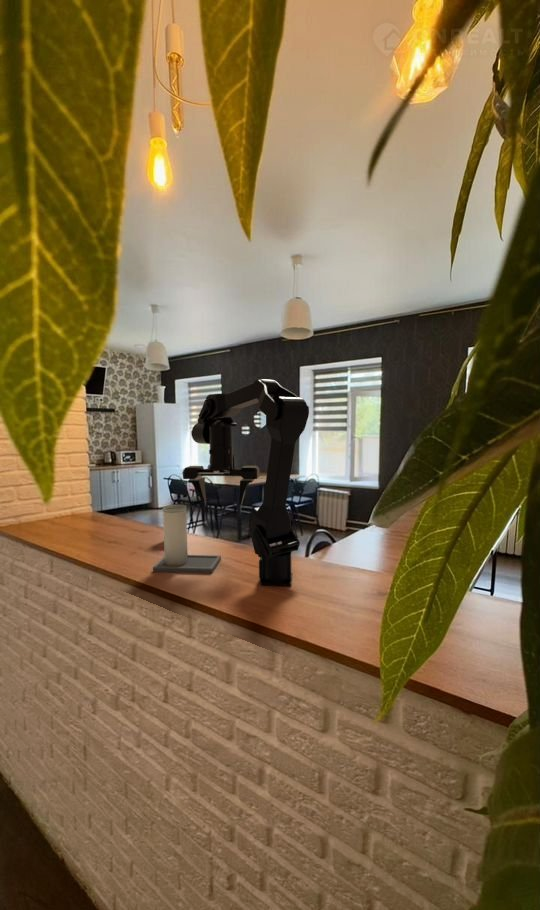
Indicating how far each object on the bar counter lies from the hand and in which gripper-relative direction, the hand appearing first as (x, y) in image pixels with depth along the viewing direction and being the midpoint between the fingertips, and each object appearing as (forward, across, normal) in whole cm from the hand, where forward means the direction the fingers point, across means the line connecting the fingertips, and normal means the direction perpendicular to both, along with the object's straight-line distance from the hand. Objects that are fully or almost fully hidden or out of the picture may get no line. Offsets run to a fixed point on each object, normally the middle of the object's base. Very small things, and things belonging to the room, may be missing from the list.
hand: (222, 506), depth 102 cm
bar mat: (+13, +7, +8) cm, 17 cm away
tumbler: (+12, +10, +8) cm, 17 cm away
